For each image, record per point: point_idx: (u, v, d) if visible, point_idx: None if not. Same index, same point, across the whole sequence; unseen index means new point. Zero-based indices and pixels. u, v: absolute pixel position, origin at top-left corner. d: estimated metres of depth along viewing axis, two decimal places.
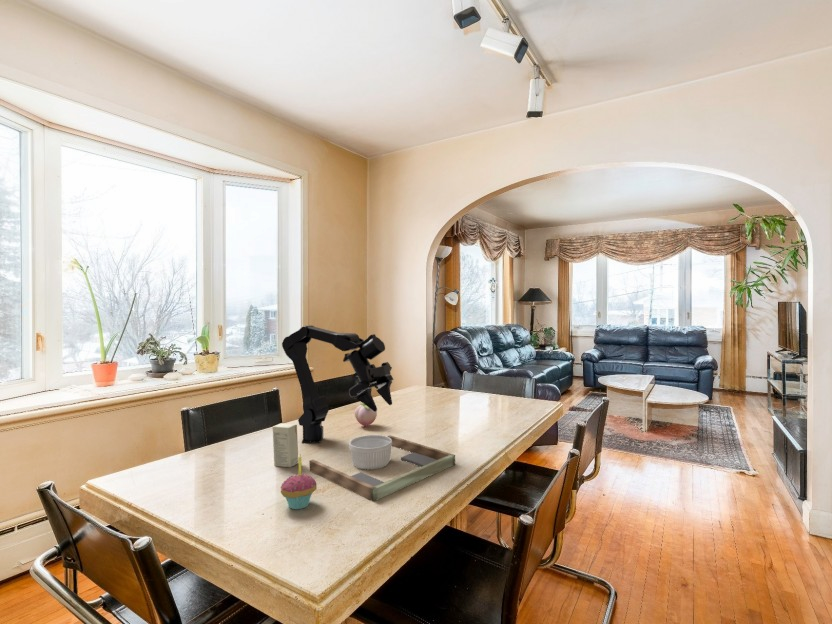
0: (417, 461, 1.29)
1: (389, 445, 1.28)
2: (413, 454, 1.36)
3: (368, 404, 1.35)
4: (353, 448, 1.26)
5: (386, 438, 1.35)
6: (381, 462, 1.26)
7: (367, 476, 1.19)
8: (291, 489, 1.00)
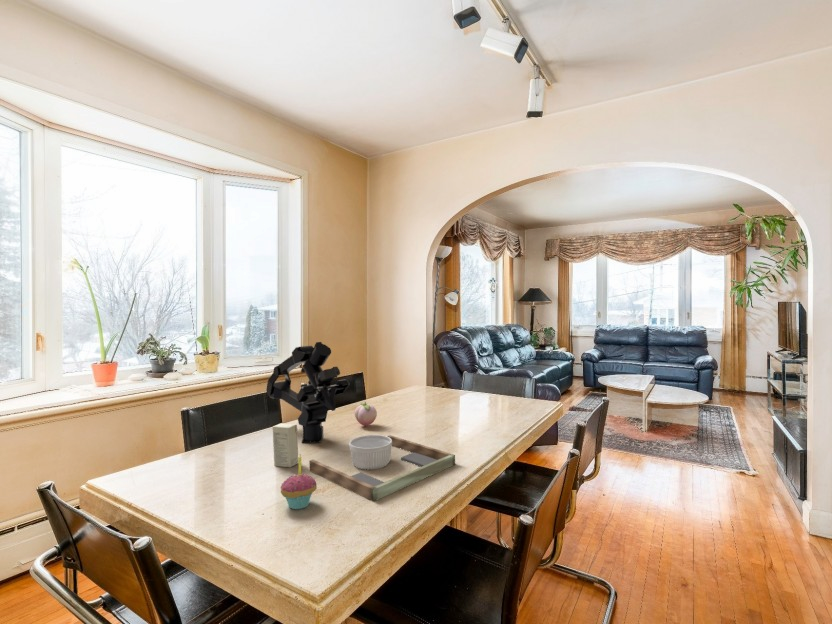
0: (417, 461, 1.29)
1: (389, 445, 1.28)
2: (413, 454, 1.36)
3: (326, 404, 1.45)
4: (353, 448, 1.26)
5: (386, 438, 1.35)
6: (381, 462, 1.26)
7: (367, 476, 1.19)
8: (291, 489, 1.00)
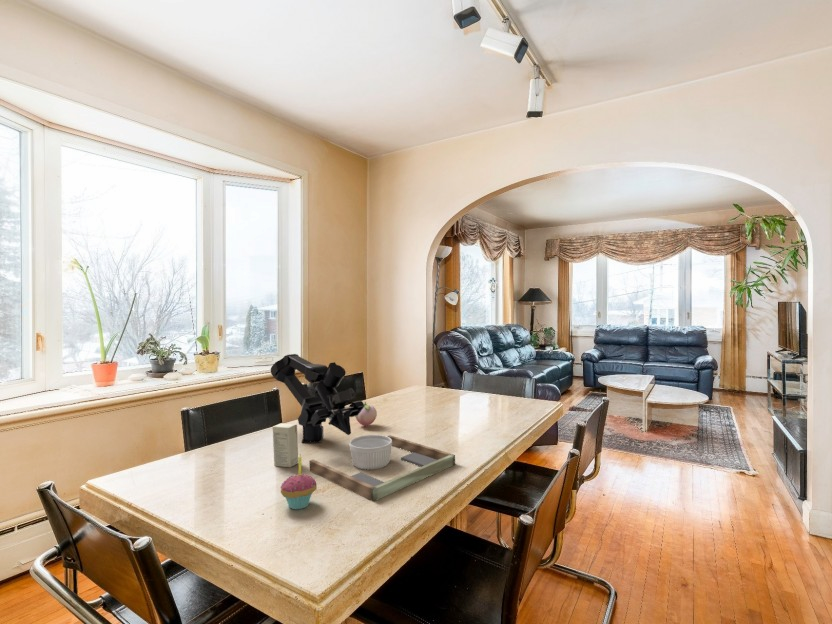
0: (417, 461, 1.29)
1: (389, 445, 1.28)
2: (413, 454, 1.36)
3: (341, 428, 1.39)
4: (353, 448, 1.26)
5: (386, 438, 1.35)
6: (381, 462, 1.26)
7: (367, 476, 1.19)
8: (291, 489, 1.00)
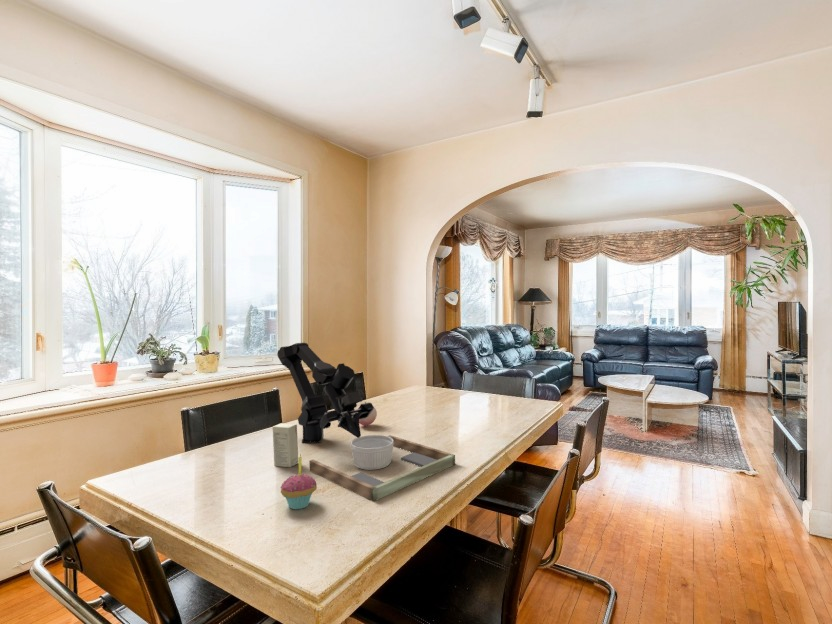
0: (417, 461, 1.29)
1: (391, 445, 1.27)
2: (413, 454, 1.36)
3: (351, 431, 1.36)
4: (354, 448, 1.26)
5: (388, 438, 1.34)
6: (382, 462, 1.26)
7: (367, 476, 1.19)
8: (291, 489, 1.00)
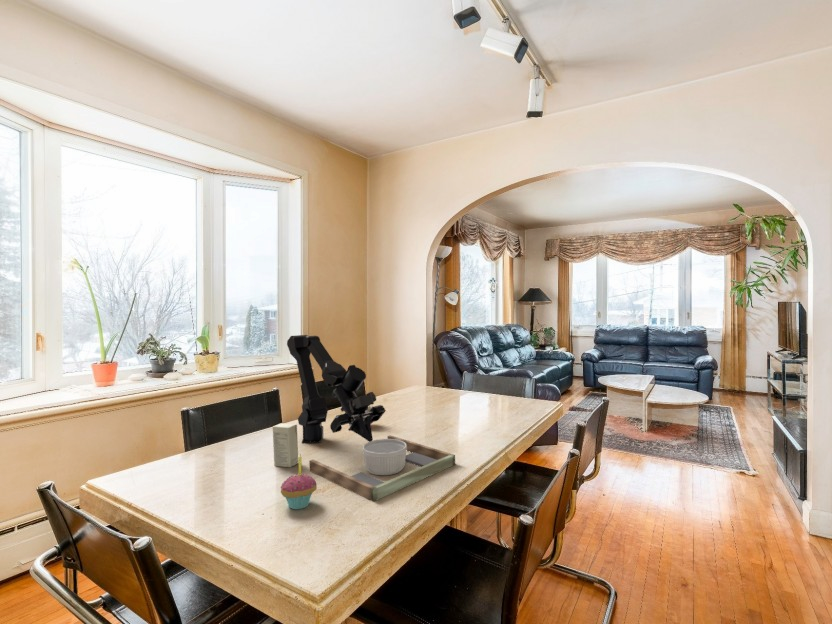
0: (417, 461, 1.29)
1: (404, 450, 1.23)
2: (413, 454, 1.36)
3: (362, 434, 1.32)
4: (367, 453, 1.22)
5: (400, 442, 1.30)
6: (395, 467, 1.21)
7: (367, 476, 1.19)
8: (291, 489, 1.00)
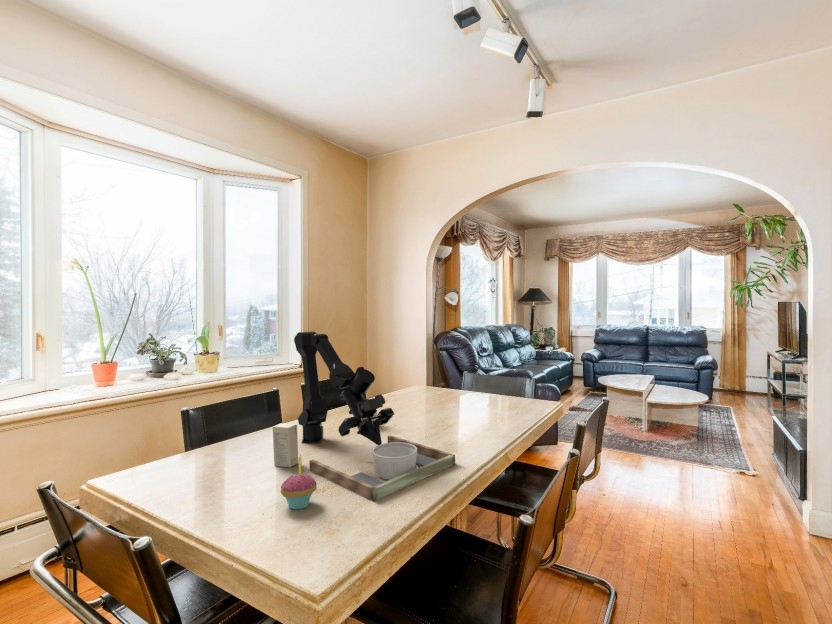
0: (417, 461, 1.29)
1: (415, 454, 1.20)
2: None
3: (371, 438, 1.29)
4: (377, 457, 1.19)
5: (410, 446, 1.27)
6: (406, 472, 1.18)
7: (367, 476, 1.19)
8: (291, 489, 1.00)
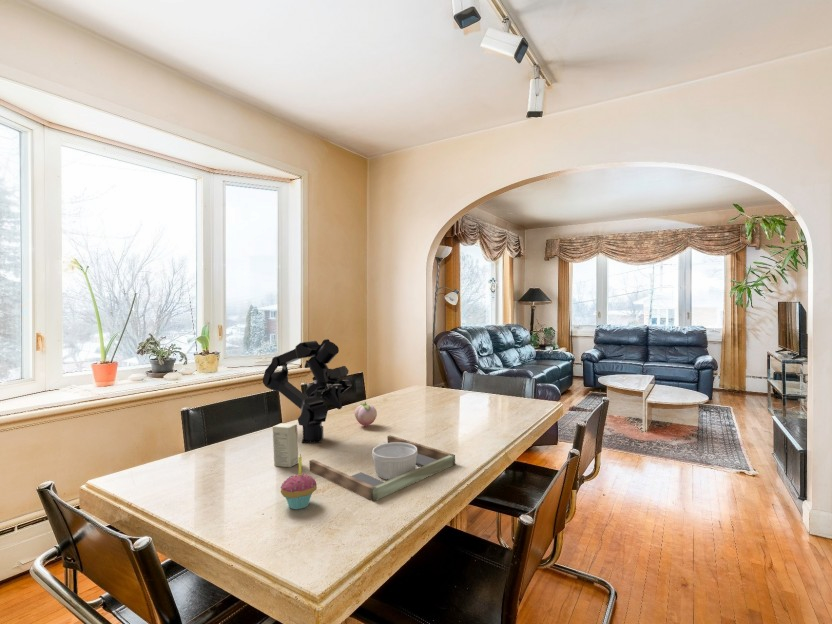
0: (417, 461, 1.29)
1: (415, 454, 1.20)
2: None
3: (332, 402, 1.45)
4: (377, 457, 1.19)
5: (410, 446, 1.27)
6: (406, 472, 1.18)
7: (367, 476, 1.19)
8: (291, 489, 1.00)
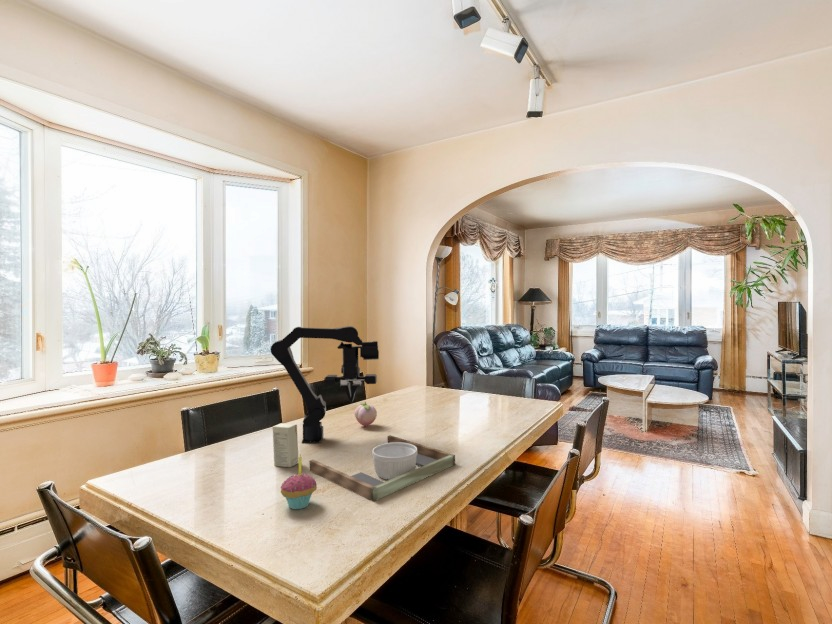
0: (417, 461, 1.29)
1: (415, 454, 1.20)
2: None
3: (354, 395, 1.55)
4: (377, 457, 1.19)
5: (410, 446, 1.27)
6: (406, 472, 1.18)
7: (367, 476, 1.19)
8: (291, 489, 1.00)
